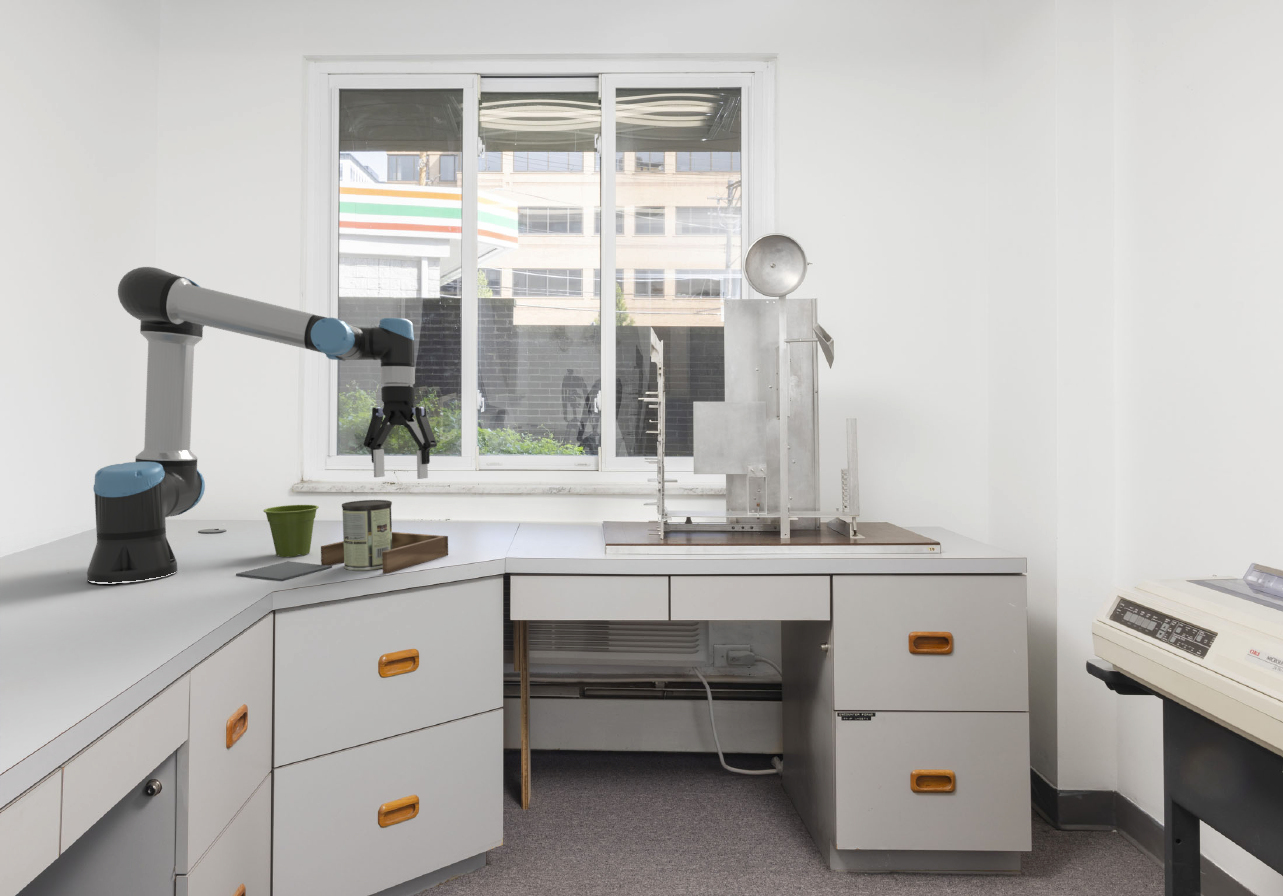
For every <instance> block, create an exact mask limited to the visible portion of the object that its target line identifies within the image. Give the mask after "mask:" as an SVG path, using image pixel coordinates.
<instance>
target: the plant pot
mask: <svg viewBox="0 0 1283 896" xmlns="http://www.w3.org/2000/svg"><path fill="white" fill-rule="evenodd" d="M318 509H319V505H315V504H289V505H287V504H286V505H281V506H280V505H279V506H272V507H268V508H265V509H263V510H262V511H263V512H264V513H265V514H266V519H267V522H268V524H269V528H270V533H271V535H272V541H273V546H274V551H275V555H276V556H278V557H281V558H295V557H297V556H300V555H301V556H305V555H308V554H309V553H310V552H311V544H312V537H313V530H314V524H315V519H316V514H317V510H318Z"/></svg>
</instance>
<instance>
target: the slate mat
mask: <svg viewBox="0 0 1283 896" xmlns="http://www.w3.org/2000/svg"><path fill="white" fill-rule="evenodd" d="M332 568H333V565H331V566H329V565H321V564H318V563H307V562H298V561H297V562H296V561H288V560H287V561H283V562H280V563H279V562H278V563H276V564H271V565H270V564H269V565H267V566H262V567H258V568H253V569H250V570H245V571H241V572H237V573H235V576H238V577H245V578H254V579H263V580H272V581H278V582H283V581H287V580H291V579H295V578H298V577H301V576H305V575H309V574H313V573H317V572H321V571H324V570H329V569H332Z"/></svg>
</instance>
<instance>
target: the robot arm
mask: <svg viewBox="0 0 1283 896" xmlns="http://www.w3.org/2000/svg"><path fill="white" fill-rule="evenodd" d="M117 296H118V299H119V302H120V304H121V306H122V307H123V309H124V310H125V311H126V313H128V314H129V315H130V316H132V317H133V318H135V319H137V320H140V327H139V328H140V332H139V333H140V334H141V335H142V337H144V338H145V339H146V341H147V344H148V345H147V362H146V363H147V366H146V367H147V369H146V371H147V372H146V391H145V392H146V396H145V418H144V419H145V420H144V422H145V423H144V425H145V426H144V445H143V446H144V448H143V450H142V451H140V452H139V453H138V454H137V455H136V456H135V461H132V462H123V463H115V464H110V465H106V466H104V467H102V468H100V469H98V470H97V471H96V472H95V474H94V484H93V493H94V508H95V526H96V527H95V528H96V544H95V547H94V550H93V554H92V557H91V559H90V562H89V565H88V568H87V572H86V573H87V574H86V575H87V581H88V580H89V581H95V582H108V583H112V582H122V581H136V580H145V579H149V578H156V577H161V576H166V575H168V574H171V573H174V572H176V571H177V572H178V562H177V558H176V556H175V554H174V551H173V549H172V548H171V546H170V545H171V544H170V543H169V541H168V539H167V534H166V533H167V531H166V530H167V529H166V526H167V525H166V518H169V517H176V516H180V515H182V514H184V513H186V512H188V511H190V510H191V509H193V508H195V507H196V506H197V505H198V504H199V503H200V502H201V500H202V498H203V496H204V494H205V491H206V490H205V489H206V484H205V479H204V477H203V474H202V473H201V472H200V471H199V469H198V457H197V456H196V455H195V454H194V452H192V450H191V434H192V433H191V432H192V410H193V409H192V407H193V381H194V357H195V355H194V354H195V353H194V352H195V346H196V345H197V344H198V343H199V342H201V341H202V340H203V333H204V330H203V328H204V327H205V326H206V327H209V328H214V329H217V330H218V329H219V330H223V331H228V332H231V333H234V334H235V333H236V334H240V335H243V336H244V335H245V336H247V337H248V336H249V337H253V338H257V339H258V338H259V339H262V340H267V341H270V342H275V343H280V344H285V345H287V346H288V345H289V346H292V347H296V348H297V347H298V348H302V349H306V350H310V351H312V352H313V351H314V352H318V353H321V354H324V355H325V356H326V358H328V359H329V360H332V361H334V360H336V361H343V362H345V361H367V360H368V361H380V383H381V384H382V385H383V386H382V387H381V388H380V389H381V402H382V403H383V406H382V407H381V406H379V407H377V406H374V407H372V408H371V409H372V410H371V418H370V423H369V425H368V429H367V432H366V436H365V439H364V441H363V446H364V447H367V448H369V449H370V451H371V463H372V464H373V478H381V477H382V478H383V477H385V476H386V475H385V449H383V445H384V443H385V441H386V439H387V438H388V436H389V434H390V433H391V431H392V429H393V428H395V426H403V427H404V428H406V430H407V431H408V433H409V434H410V436H411V437H412V438H413V440H414V442H415V444H416V445H417V447H418V449H417V450H416V468H417V469H416V471H417V475H416V476H417V480H423V479H428V478H429V476H428V475H429V473H428V468H429V467H428V464H430V462H431V461H430V457H431V456H430V455H431V454H430V451H431V449H433V448H436V447H437V446H438V443H437V440H436V438H435V435H434V432H433V430H432V427H431V425H430V422H429V419H428V416H427V415H428V414H427V408H426V407H425V406H416V407H415V402H416V400H417V399H416V388H415V386H413V385H415V383H416V379H415V378H416V371H415V365H416V364H415V334H414V324H413V322H412V321H411V320H409V319H407V318H400V317H385V318H381V319H380V320H379V325H378V326H375V327H364V326H363V327H358V326H354V325H351V324H349V323H347V322H345V321H344V320H342V319H340V318H335V317H326V316H323V315H322V316H321V315H316V314H313V313H310V312H305V311H301V310H297V309H292V308H289V307H284V306H281V305H278V304H277V305H276V304H272V303H269V302H264V301H259V300H254V299H251V298H247V297H243V296H239V295H234V294H232V293H231V294H230V293H226V292H223V291H222V292H221V291H219V290H214V289H210V288H206V287H201V286H200V285H199V284H197V283H196V282H195V281H193V280H191V279H190V278H187V277H185V276H180V275H176V274H174V273H171V272H169V271H166V270H163V269H161V268H157V267H152V266H142V267H137V268H134V269H132V270H130V271H128V272H127V273H126V274H125V275H124V276H123V277H121V279H120V281H119V283H118V287H117ZM414 416H415V418H414ZM177 572H176V573H177Z"/></svg>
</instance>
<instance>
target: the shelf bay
mask: <svg viewBox="0 0 1283 896" xmlns="http://www.w3.org/2000/svg"><path fill="white" fill-rule="evenodd" d="M448 555H449V536H447V535H437V534H424V533H423V534H421V533H411V532H399V531H392V549H391V550H387V551H384V552H382V558H383V568H382V574H390V573H392V572H396V571H399V570H403V569H406V568H409V567H410V568H411V567H413V566H416V565H420V564H423V563H425V562H429V561H433V560H436V559H440V558H442V557H446V556H448ZM341 563H344V540H343V541H338V542H333V543H329V544H325V545H324V544H323V545H320V565H329V566H334V565H338V564H341Z"/></svg>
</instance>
